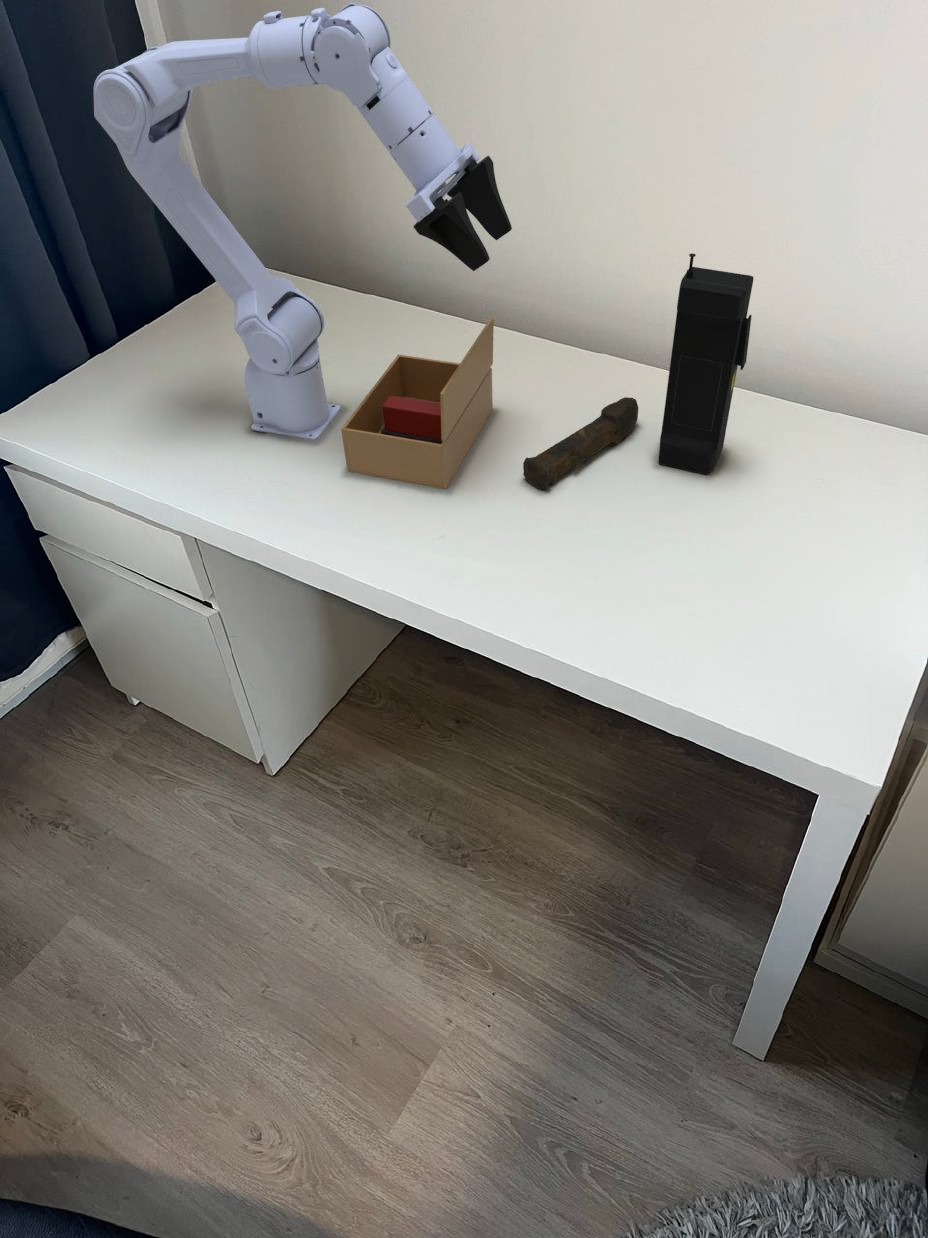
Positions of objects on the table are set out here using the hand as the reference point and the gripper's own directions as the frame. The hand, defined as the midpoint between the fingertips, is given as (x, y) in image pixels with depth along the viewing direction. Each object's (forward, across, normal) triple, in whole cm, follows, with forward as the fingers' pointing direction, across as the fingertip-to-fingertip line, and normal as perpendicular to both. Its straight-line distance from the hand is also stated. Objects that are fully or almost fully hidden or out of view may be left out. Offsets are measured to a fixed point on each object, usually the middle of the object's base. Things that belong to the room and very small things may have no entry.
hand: (493, 249), depth 98 cm
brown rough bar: (+27, +3, +8) cm, 28 cm away
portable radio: (+35, +6, -3) cm, 35 cm away
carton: (+14, 0, +24) cm, 28 cm away
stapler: (+14, 0, +23) cm, 27 cm away
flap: (+10, 0, +12) cm, 16 cm away
